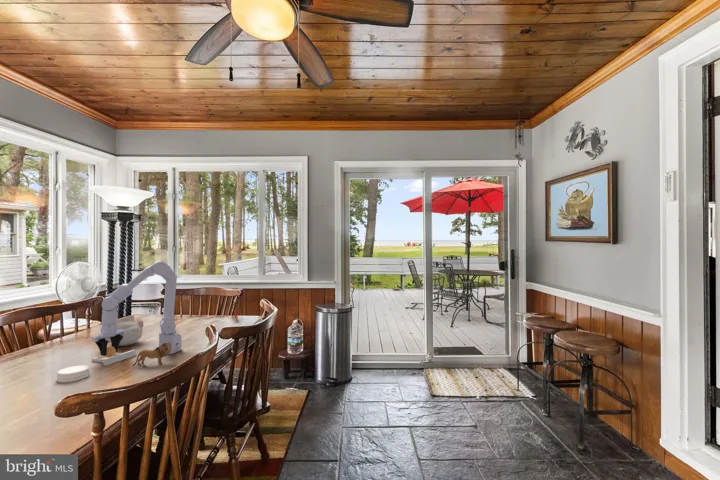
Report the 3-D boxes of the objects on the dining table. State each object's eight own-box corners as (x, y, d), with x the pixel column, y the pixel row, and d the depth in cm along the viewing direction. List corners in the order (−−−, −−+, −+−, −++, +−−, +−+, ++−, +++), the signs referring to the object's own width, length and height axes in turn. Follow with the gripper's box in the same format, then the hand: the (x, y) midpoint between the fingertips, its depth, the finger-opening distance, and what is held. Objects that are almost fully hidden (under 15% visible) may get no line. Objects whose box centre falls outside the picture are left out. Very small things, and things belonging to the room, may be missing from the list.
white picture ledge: (136, 355, 169) (136, 349, 169) (106, 365, 155) (106, 359, 155) (132, 354, 170) (132, 349, 170) (102, 365, 155) (102, 359, 155)
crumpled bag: (144, 345, 185) (144, 316, 185) (98, 351, 174) (99, 320, 174) (142, 338, 198) (142, 311, 198) (100, 344, 188) (100, 315, 188)
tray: (125, 357, 166) (125, 354, 166) (107, 363, 158) (107, 360, 158) (110, 355, 169) (110, 352, 169) (91, 361, 160) (91, 358, 160)
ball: (118, 356, 165) (118, 345, 165) (108, 359, 160) (108, 348, 160) (109, 355, 166) (110, 344, 166) (99, 358, 161) (99, 347, 161)
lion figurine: (171, 360, 162) (171, 340, 162) (171, 364, 157) (171, 343, 158) (132, 365, 155) (132, 344, 155) (131, 369, 151) (131, 347, 151)
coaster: (85, 371, 148) (85, 363, 148) (92, 377, 142) (92, 368, 142) (54, 378, 140) (54, 369, 140) (60, 385, 134) (60, 375, 134)
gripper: (117, 319, 171) (116, 348, 171) (86, 326, 157) (86, 357, 157) (128, 320, 170) (128, 349, 169) (99, 327, 155) (99, 359, 155)
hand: (109, 353), depth 163 cm, fingers closed on ball, 5 cm apart
